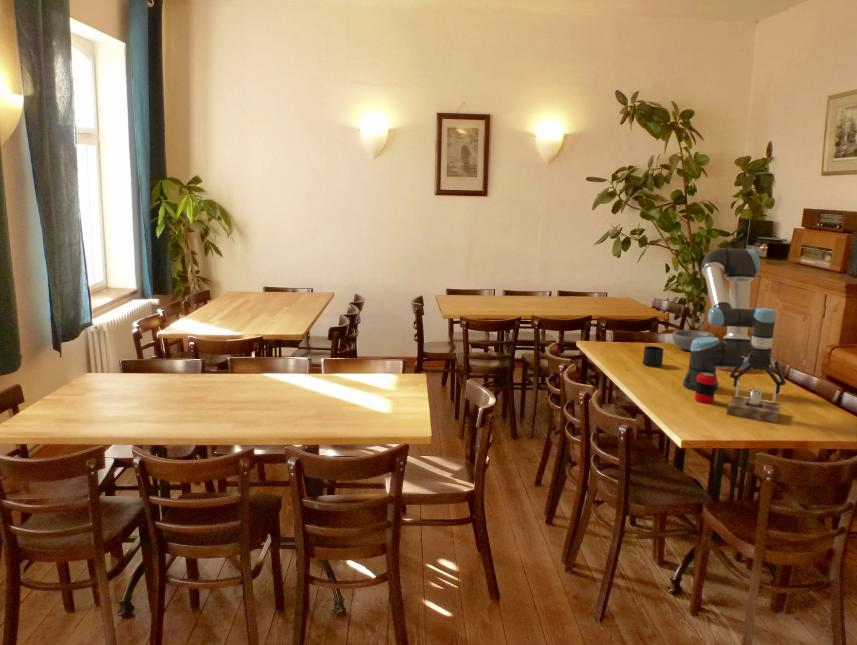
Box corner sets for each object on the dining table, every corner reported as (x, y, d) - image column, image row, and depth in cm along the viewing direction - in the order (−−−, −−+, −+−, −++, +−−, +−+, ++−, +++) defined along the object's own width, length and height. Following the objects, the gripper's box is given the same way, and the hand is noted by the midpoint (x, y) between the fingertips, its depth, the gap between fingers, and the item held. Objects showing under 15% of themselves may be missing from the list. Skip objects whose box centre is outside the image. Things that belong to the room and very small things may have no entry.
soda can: (692, 398, 289) (694, 371, 286) (709, 398, 289) (712, 372, 286) (698, 403, 281) (701, 376, 279) (716, 403, 281) (719, 376, 279)
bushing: (746, 414, 268) (749, 391, 266) (747, 411, 272) (750, 388, 270) (758, 416, 266) (761, 392, 264) (759, 413, 269) (762, 390, 268)
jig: (726, 414, 268) (728, 403, 267) (731, 405, 279) (732, 394, 278) (776, 423, 258) (777, 411, 257) (779, 413, 270) (780, 402, 269)
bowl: (667, 344, 393) (669, 327, 391) (707, 346, 390) (708, 329, 388) (676, 353, 371) (677, 336, 369) (718, 355, 368) (720, 338, 366)
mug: (647, 368, 337) (648, 351, 335) (640, 362, 349) (642, 345, 347) (665, 368, 337) (667, 351, 335) (658, 363, 348) (660, 346, 347)
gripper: (726, 344, 267) (720, 394, 271) (796, 353, 254) (789, 405, 258) (728, 341, 273) (723, 390, 277) (797, 349, 260) (790, 400, 264)
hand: (755, 397), depth 267 cm, fingers open, 13 cm apart
